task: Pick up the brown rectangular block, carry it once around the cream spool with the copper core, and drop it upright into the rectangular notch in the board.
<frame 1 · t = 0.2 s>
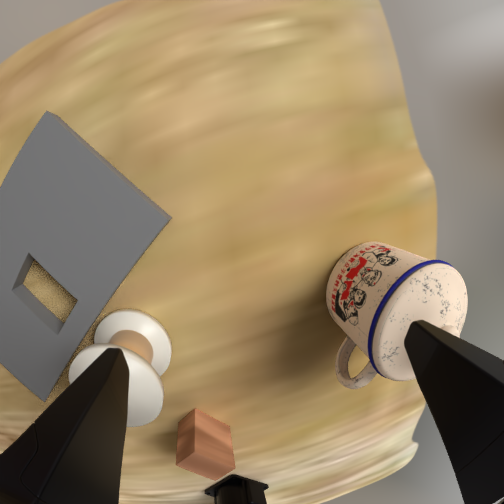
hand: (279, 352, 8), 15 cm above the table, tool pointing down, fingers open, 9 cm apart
spool: (133, 344, 23), on the table
notched board: (37, 273, 21), on the table
brown rectangular block: (204, 424, 26), on the table
white printed mug: (357, 299, 25), on the table
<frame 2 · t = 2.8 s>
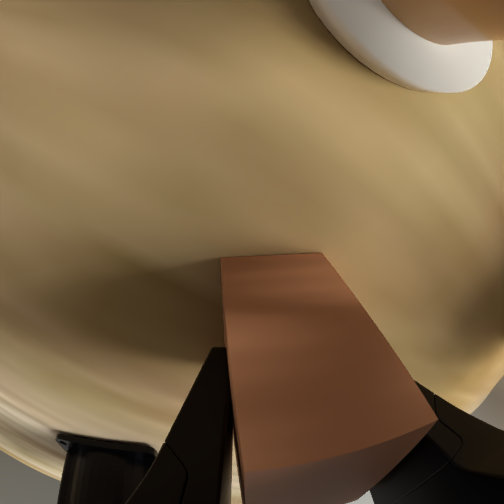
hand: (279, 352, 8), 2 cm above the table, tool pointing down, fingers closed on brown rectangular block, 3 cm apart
brown rectangular block: (269, 317, 9), on the table, touching gripper
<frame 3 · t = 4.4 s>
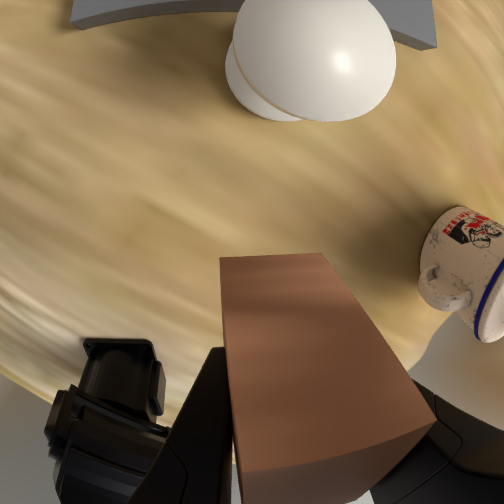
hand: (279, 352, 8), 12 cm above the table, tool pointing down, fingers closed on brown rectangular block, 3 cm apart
spool: (282, 68, 15), on the table
brown rectangular block: (268, 317, 9), point 11 cm above the table, touching gripper
white printed mug: (439, 250, 23), on the table
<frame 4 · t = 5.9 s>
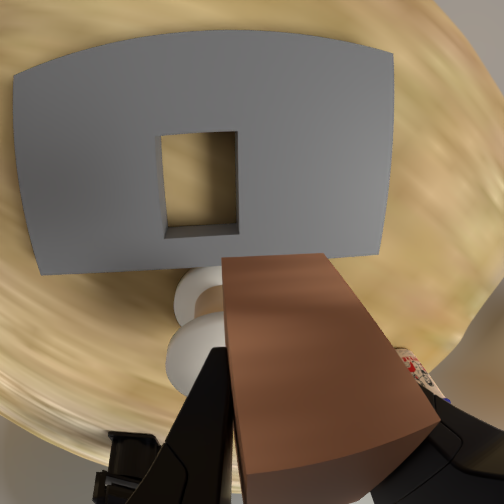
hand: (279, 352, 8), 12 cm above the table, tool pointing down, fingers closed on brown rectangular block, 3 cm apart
spool: (222, 301, 21), on the table
notched board: (198, 148, 17), on the table
brown rectangular block: (270, 317, 9), point 11 cm above the table, touching gripper
white printed mug: (371, 376, 29), on the table
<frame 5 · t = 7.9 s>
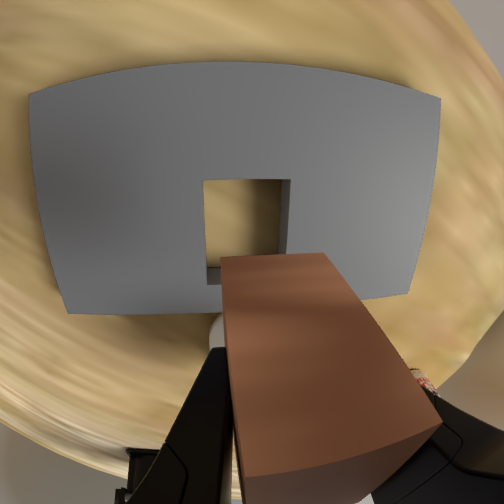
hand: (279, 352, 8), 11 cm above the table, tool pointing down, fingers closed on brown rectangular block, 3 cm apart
spool: (255, 336, 21), on the table
notched board: (242, 189, 16), on the table
brown rectangular block: (270, 317, 9), point 9 cm above the table, touching gripper
when the fingers open (4 cm above the table, at t = 9.2 s): brown rectangular block drops 3 cm, resting in notched board.
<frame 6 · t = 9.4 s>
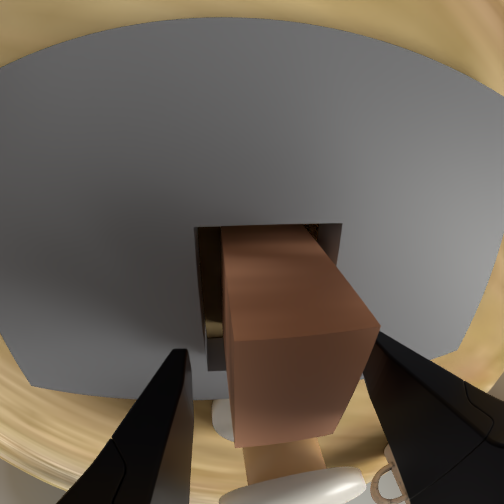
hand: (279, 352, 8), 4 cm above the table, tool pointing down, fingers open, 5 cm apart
spool: (270, 405, 15), on the table
notched board: (260, 231, 11), on the table
brown rectangular block: (259, 277, 12), resting in notched board
white printed mug: (405, 436, 23), on the table
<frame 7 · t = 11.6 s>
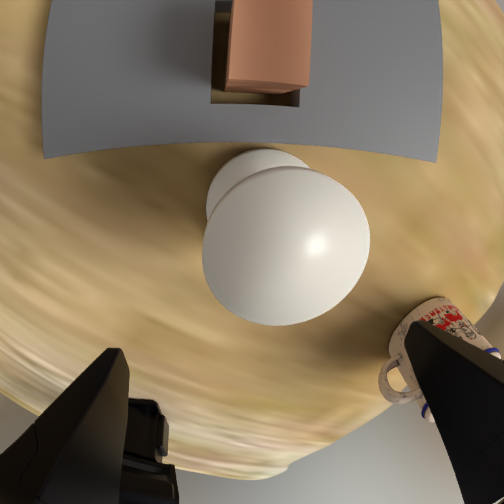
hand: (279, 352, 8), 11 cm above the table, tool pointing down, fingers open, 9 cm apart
spool: (264, 204, 18), on the table
notched board: (254, 27, 13), on the table
brown rectangular block: (253, 57, 14), resting in notched board
white printed mug: (409, 332, 26), on the table
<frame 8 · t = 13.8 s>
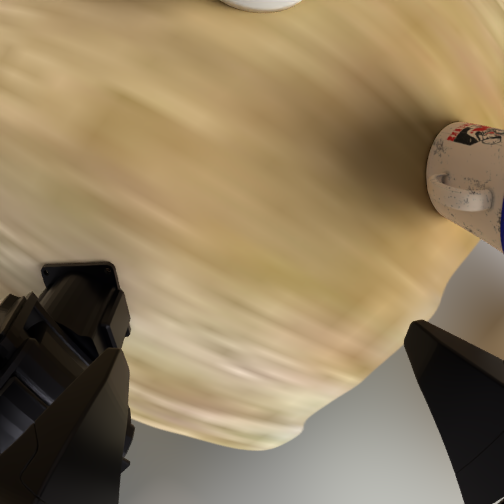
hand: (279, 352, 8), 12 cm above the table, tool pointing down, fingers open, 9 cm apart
white printed mug: (446, 170, 19), on the table
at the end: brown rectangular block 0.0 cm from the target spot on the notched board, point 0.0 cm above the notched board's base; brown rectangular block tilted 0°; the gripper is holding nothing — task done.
